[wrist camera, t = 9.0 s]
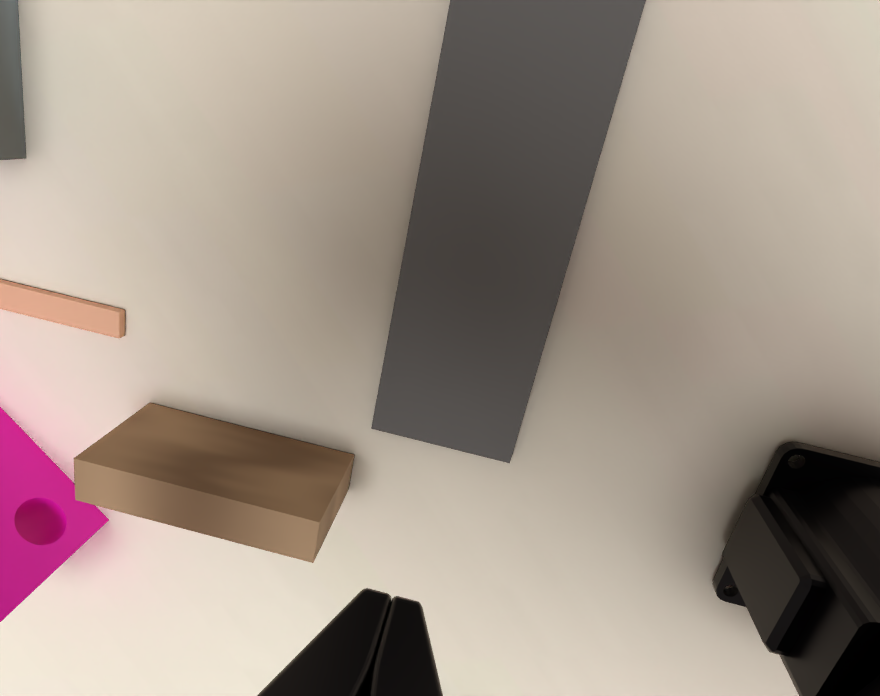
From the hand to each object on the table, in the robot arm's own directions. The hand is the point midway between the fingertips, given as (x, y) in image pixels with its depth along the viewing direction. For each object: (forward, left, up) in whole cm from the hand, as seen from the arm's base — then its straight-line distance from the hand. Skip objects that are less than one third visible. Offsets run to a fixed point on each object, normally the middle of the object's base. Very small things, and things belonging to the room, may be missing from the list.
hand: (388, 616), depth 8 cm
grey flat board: (0, -5, -12) cm, 13 cm away
